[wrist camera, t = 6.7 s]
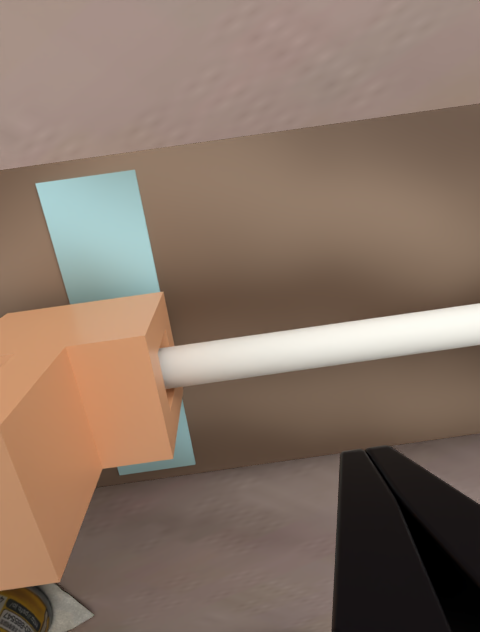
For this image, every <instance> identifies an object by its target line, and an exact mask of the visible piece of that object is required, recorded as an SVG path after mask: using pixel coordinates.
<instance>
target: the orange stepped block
mask: <svg viewBox="0 0 480 632" xmlns="http://www.w3.org/2000/svg"><path fill="white" fill-rule="evenodd" d="M172 346H174V341H173V336H172V331H171V326H170V321H169V316H168V312H167V307H166V302H165V297H164V292H156V293H149V294H142V295H135V296H128V297H121V298H114V299H106V300H99V301H92V302H85V303H78V304H71V305H64V306H57V307H49V308H42V309H35V310H28V311H21V312H14V313H7V314H6V315H4V316H3V317H1V318H0V591H2V590H9V589H16V588H23V587H30V586H37V585H44V584H51V583H58V582H60V581H61V578H62V575H63V573H64V570H65V567H66V565H67V562H68V559H69V557H70V554H71V551H72V549H73V546H74V543H75V541H76V538H77V535H78V533H79V530H80V527H81V525H82V522H83V519H84V517H85V514H86V511H87V509H88V506H89V503H90V501H91V498H92V495H93V493H94V490H95V487H96V485H97V482H98V479H99V477H100V474H101V471H102V469H105V468H112V467H119V466H126V465H133V464H141V463H148V462H155V461H162V460H169V459H173V457H174V450H175V443H176V437H177V430H178V423H179V416H180V410H181V403H182V396H183V387H178V388H171V389H165V385H164V380H163V375H162V371H161V366H160V362H159V357H158V351H159V348H165V347H172Z"/></svg>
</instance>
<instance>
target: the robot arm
mask: <svg viewBox="0 0 480 632" xmlns="http://www.w3.org/2000/svg"><path fill="white" fill-rule="evenodd" d="M332 632H480V504H478V503H476V502H475V501H473V500H472V499H470V498H469V497H467V496H466V495H464V494H463V493H461V492H460V491H458V490H456V489H455V488H453V487H452V486H450V485H449V484H447V483H446V482H444V481H443V480H441V479H440V478H438V477H437V476H435V475H433V474H432V473H430V472H429V471H427V470H426V469H424V468H423V467H421V466H420V465H418V464H417V463H415V462H414V461H412V460H410V459H409V458H407V457H406V456H404V455H403V454H401V453H400V452H398V451H397V450H395V449H394V448H392V447H390V446H388V445H382V446H375V447H368V448H366V449H365V451H364V450H363V449H355V450H348V451H342V452H341V454H340V469H339V489H338V510H337V530H336V550H335V571H334V591H333V612H332Z"/></svg>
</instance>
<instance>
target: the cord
mask: <svg viewBox="0 0 480 632" xmlns="http://www.w3.org/2000/svg"><path fill="white" fill-rule="evenodd" d="M476 345H480V303H478V304H471V305H464V306H457V307H450V308H442V309H435V310H428V311H421V312H414V313H407V314H400V315H393V316H386V317H378V318H371V319H364V320H357V321H350V322H343V323H336V324H329V325H322V326H314V327H307V328H300V329H293V330H286V331H279V332H272V333H265V334H258V335H250V336H243V337H236V338H229V339H222V340H215V341H208V342H201V343H194V344H186V345H179V346H172V347H165V348H159V351H158V357H159V362H160V366H161V371H162V375H163V380H164V385H165V389H171V388H178V387H185V386H192V385H199V384H206V383H213V382H220V381H227V380H234V379H242V378H249V377H256V376H263V375H270V374H277V373H284V372H291V371H298V370H305V369H313V368H320V367H327V366H334V365H341V364H348V363H355V362H362V361H369V360H376V359H384V358H391V357H398V356H405V355H412V354H419V353H426V352H433V351H440V350H447V349H455V348H462V347H469V346H476Z"/></svg>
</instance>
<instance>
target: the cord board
mask: <svg viewBox="0 0 480 632" xmlns="http://www.w3.org/2000/svg"><path fill="white" fill-rule="evenodd" d="M156 292H164V297H165V302H166V307H167V312H168V316H169V321H170V326H171V331H172V336H173V341H174V346H179V345H186V344H194V343H201V342H208V341H215V340H222V339H229V338H236V337H243V336H250V335H258V334H265V333H272V332H279V331H286V330H293V329H300V328H307V327H314V326H322V325H329V324H336V323H343V322H350V321H357V320H364V319H371V318H378V317H386V316H393V315H400V314H407V313H414V312H421V311H428V310H435V309H442V308H450V307H457V306H464V305H471V304H478V303H480V104H473V105H466V106H459V107H452V108H444V109H437V110H430V111H423V112H416V113H408V114H401V115H394V116H387V117H380V118H372V119H365V120H358V121H351V122H344V123H336V124H329V125H322V126H315V127H308V128H301V129H293V130H286V131H279V132H272V133H265V134H257V135H250V136H243V137H236V138H229V139H221V140H214V141H207V142H200V143H193V144H185V145H178V146H171V147H164V148H157V149H149V150H142V151H135V152H128V153H121V154H113V155H106V156H99V157H92V158H85V159H77V160H70V161H63V162H56V163H49V164H41V165H34V166H27V167H20V168H13V169H6V170H0V318H1V317H3V316H4V315H6V314H7V313H14V312H21V311H28V310H35V309H42V308H49V307H57V306H64V305H71V304H78V303H85V302H92V301H99V300H106V299H114V298H121V297H128V296H135V295H142V294H149V293H156ZM478 433H480V345H476V346H469V347H462V348H455V349H447V350H440V351H433V352H426V353H419V354H412V355H405V356H398V357H391V358H384V359H376V360H369V361H362V362H355V363H348V364H341V365H334V366H327V367H320V368H313V369H305V370H298V371H291V372H284V373H277V374H270V375H263V376H256V377H249V378H242V379H234V380H227V381H220V382H213V383H206V384H199V385H192V386H185V387H183V396H182V403H181V410H180V416H179V423H178V430H177V437H176V443H175V450H174V457H173V459H169V460H162V461H155V462H148V463H141V464H133V465H126V466H119V467H112V468H105V469H102V471H101V474H100V477H99V479H98V482H97V485H96V487H95V488H97V487H104V486H111V485H118V484H125V483H132V482H139V481H146V480H153V479H160V478H167V477H174V476H181V475H188V474H195V473H203V472H210V471H217V470H224V469H231V468H238V467H245V466H252V465H259V464H266V463H273V462H280V461H287V460H294V459H301V458H308V457H316V456H323V455H330V454H337V453H341V452H342V451H348V450H355V449H363V450H365V449H366V448H368V447H375V446H382V445H388V446H393V445H400V444H407V443H414V442H421V441H429V440H436V439H443V438H450V437H457V436H464V435H471V434H478Z"/></svg>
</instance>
